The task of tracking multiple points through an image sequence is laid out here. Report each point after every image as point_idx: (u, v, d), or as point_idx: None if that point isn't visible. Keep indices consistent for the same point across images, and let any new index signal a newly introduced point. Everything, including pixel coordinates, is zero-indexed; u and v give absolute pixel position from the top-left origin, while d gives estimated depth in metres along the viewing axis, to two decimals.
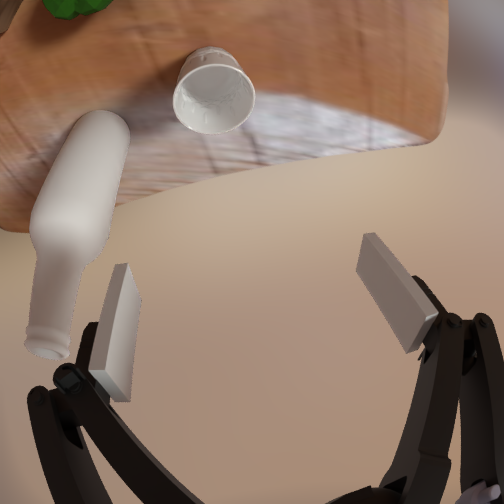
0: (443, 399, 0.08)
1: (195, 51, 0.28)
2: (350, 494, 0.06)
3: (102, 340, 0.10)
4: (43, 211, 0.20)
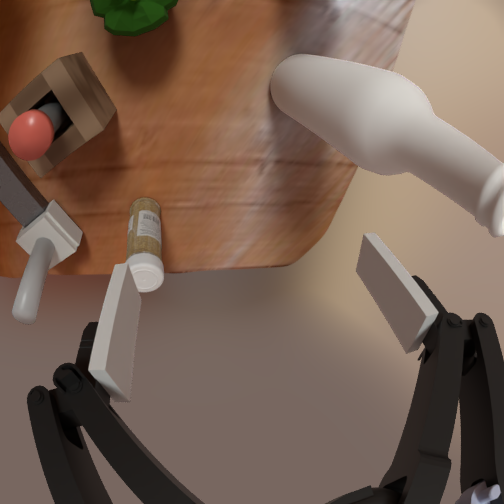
0: (443, 399, 0.08)
1: None
2: (350, 494, 0.06)
3: (102, 340, 0.10)
4: (358, 112, 0.17)
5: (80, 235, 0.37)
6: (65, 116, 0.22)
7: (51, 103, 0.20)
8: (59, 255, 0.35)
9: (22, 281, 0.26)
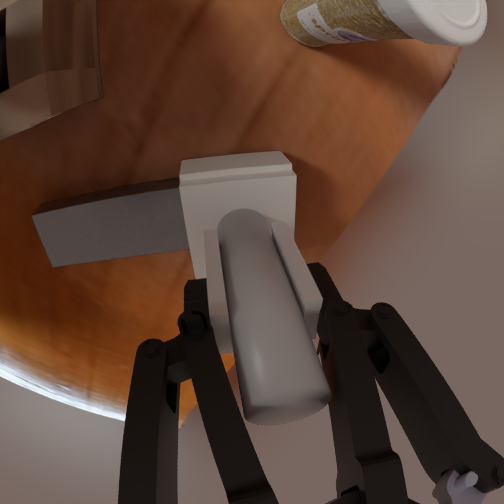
0: (360, 396, 0.08)
1: None
2: (350, 494, 0.06)
3: (216, 290, 0.13)
4: None
5: (280, 155, 0.19)
6: None
7: None
8: (280, 216, 0.19)
9: (230, 329, 0.12)
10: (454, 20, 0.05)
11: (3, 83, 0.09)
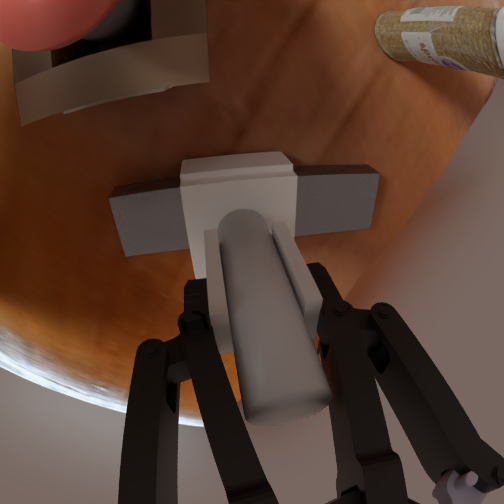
0: (360, 397, 0.08)
1: None
2: (350, 494, 0.06)
3: (216, 290, 0.13)
4: None
5: (281, 155, 0.19)
6: None
7: None
8: (281, 217, 0.19)
9: (231, 329, 0.12)
10: None
11: (119, 38, 0.10)
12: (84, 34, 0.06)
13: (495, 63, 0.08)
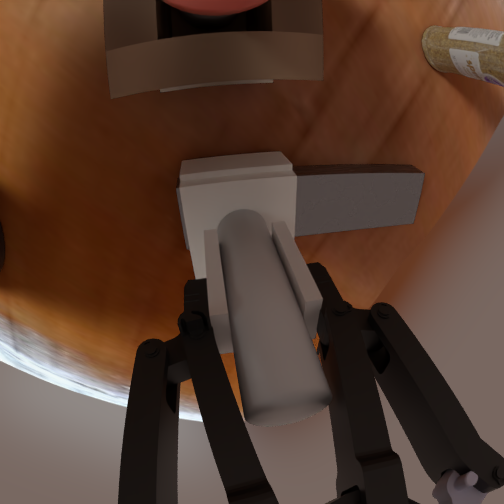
0: (360, 396, 0.08)
1: None
2: (350, 494, 0.06)
3: (216, 290, 0.13)
4: None
5: (280, 155, 0.19)
6: None
7: None
8: (281, 217, 0.19)
9: None
10: None
11: (221, 23, 0.10)
12: (248, 9, 0.06)
13: None
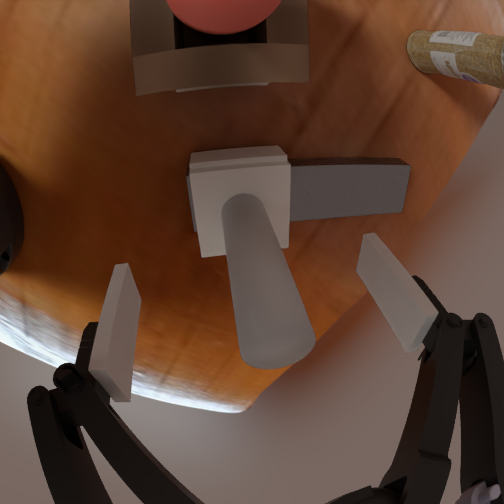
0: (443, 399, 0.08)
1: None
2: (350, 494, 0.06)
3: (102, 340, 0.10)
4: None
5: (277, 148, 0.22)
6: None
7: None
8: (277, 201, 0.21)
9: (231, 286, 0.15)
10: None
11: (226, 35, 0.13)
12: (246, 29, 0.09)
13: (503, 80, 0.11)
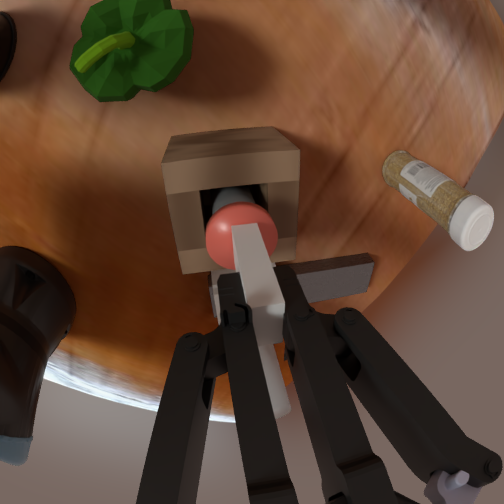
0: (333, 402, 0.08)
1: None
2: None
3: (252, 283, 0.13)
4: None
5: (273, 265, 0.32)
6: None
7: (216, 191, 0.21)
8: None
9: None
10: (474, 244, 0.19)
11: None
12: None
13: None
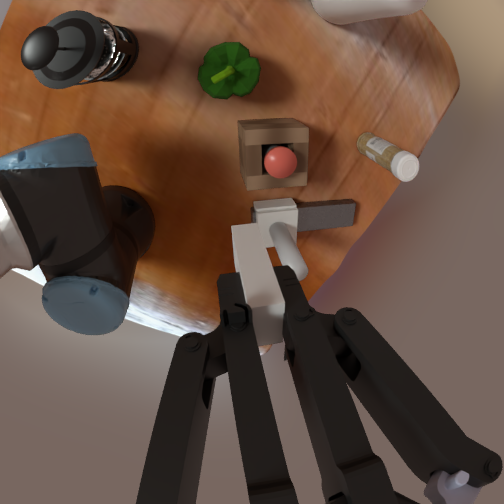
0: (333, 402, 0.08)
1: None
2: None
3: (252, 283, 0.13)
4: None
5: (291, 200, 0.52)
6: None
7: (264, 146, 0.42)
8: (292, 224, 0.51)
9: (280, 257, 0.45)
10: (407, 177, 0.39)
11: None
12: None
13: None
